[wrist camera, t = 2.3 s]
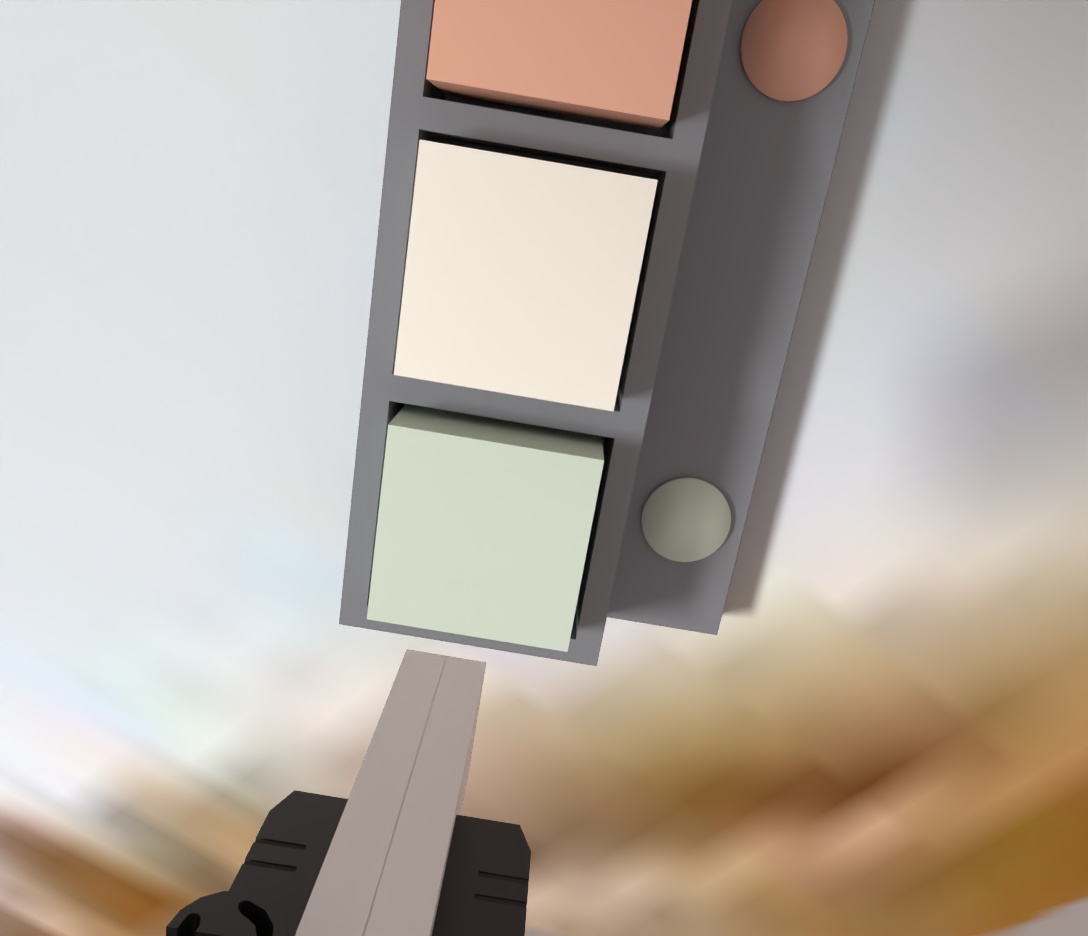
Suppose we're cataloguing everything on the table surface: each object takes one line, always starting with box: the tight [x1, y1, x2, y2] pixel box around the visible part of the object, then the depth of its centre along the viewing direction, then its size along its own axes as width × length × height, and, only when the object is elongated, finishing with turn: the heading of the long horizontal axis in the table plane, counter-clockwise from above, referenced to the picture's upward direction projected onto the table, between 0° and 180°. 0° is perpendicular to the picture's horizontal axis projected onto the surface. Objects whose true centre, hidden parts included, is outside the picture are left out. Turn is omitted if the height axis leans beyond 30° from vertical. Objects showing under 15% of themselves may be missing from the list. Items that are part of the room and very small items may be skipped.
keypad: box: [339, 0, 875, 666], centre depth 26 cm, size 13×23×5 cm, turn 171°
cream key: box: [394, 140, 658, 411], centre depth 24 cm, size 6×6×3 cm
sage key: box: [367, 404, 604, 652], centre depth 26 cm, size 6×6×3 cm
